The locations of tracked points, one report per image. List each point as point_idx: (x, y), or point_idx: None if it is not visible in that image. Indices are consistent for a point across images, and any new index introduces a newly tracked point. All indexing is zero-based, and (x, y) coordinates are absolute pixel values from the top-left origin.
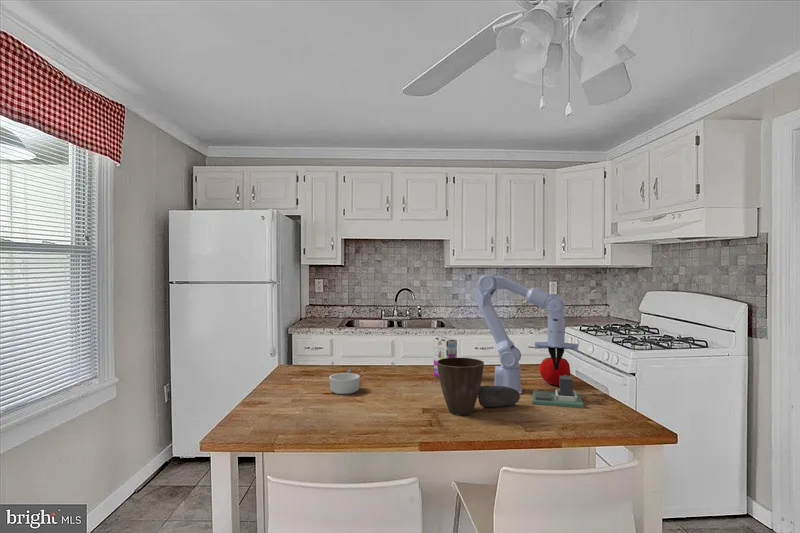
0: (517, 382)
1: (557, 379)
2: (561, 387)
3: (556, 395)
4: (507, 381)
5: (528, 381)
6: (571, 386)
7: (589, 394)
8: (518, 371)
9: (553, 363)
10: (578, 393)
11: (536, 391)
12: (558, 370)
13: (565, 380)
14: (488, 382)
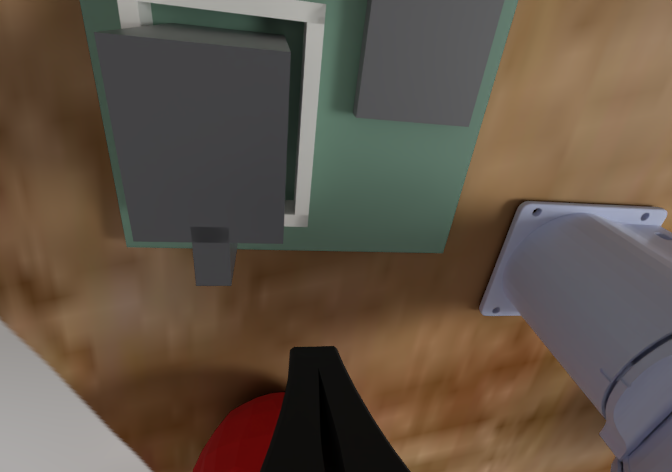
0: (575, 261)
1: (275, 407)
2: (272, 41)
3: (322, 18)
4: (653, 249)
5: (408, 422)
6: (146, 28)
7: (72, 289)
8: (629, 325)
9: (362, 402)
10: (136, 242)
11: (427, 230)
12: None
13: (213, 42)
14: None
